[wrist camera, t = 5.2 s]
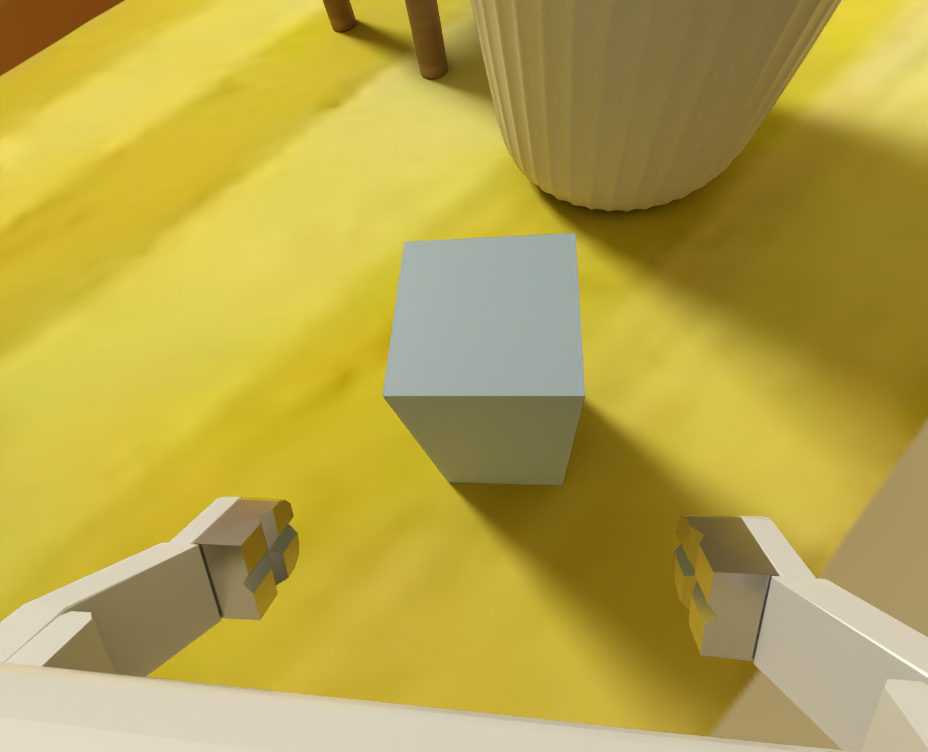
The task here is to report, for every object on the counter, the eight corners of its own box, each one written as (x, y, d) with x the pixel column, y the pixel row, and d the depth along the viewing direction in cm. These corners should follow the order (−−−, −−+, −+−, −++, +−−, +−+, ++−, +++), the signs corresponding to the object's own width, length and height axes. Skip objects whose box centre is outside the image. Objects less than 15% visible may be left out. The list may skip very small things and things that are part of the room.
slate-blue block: (562, 485, 20) (584, 396, 11) (448, 482, 21) (382, 396, 12) (559, 380, 22) (575, 232, 13) (455, 380, 23) (404, 241, 14)
